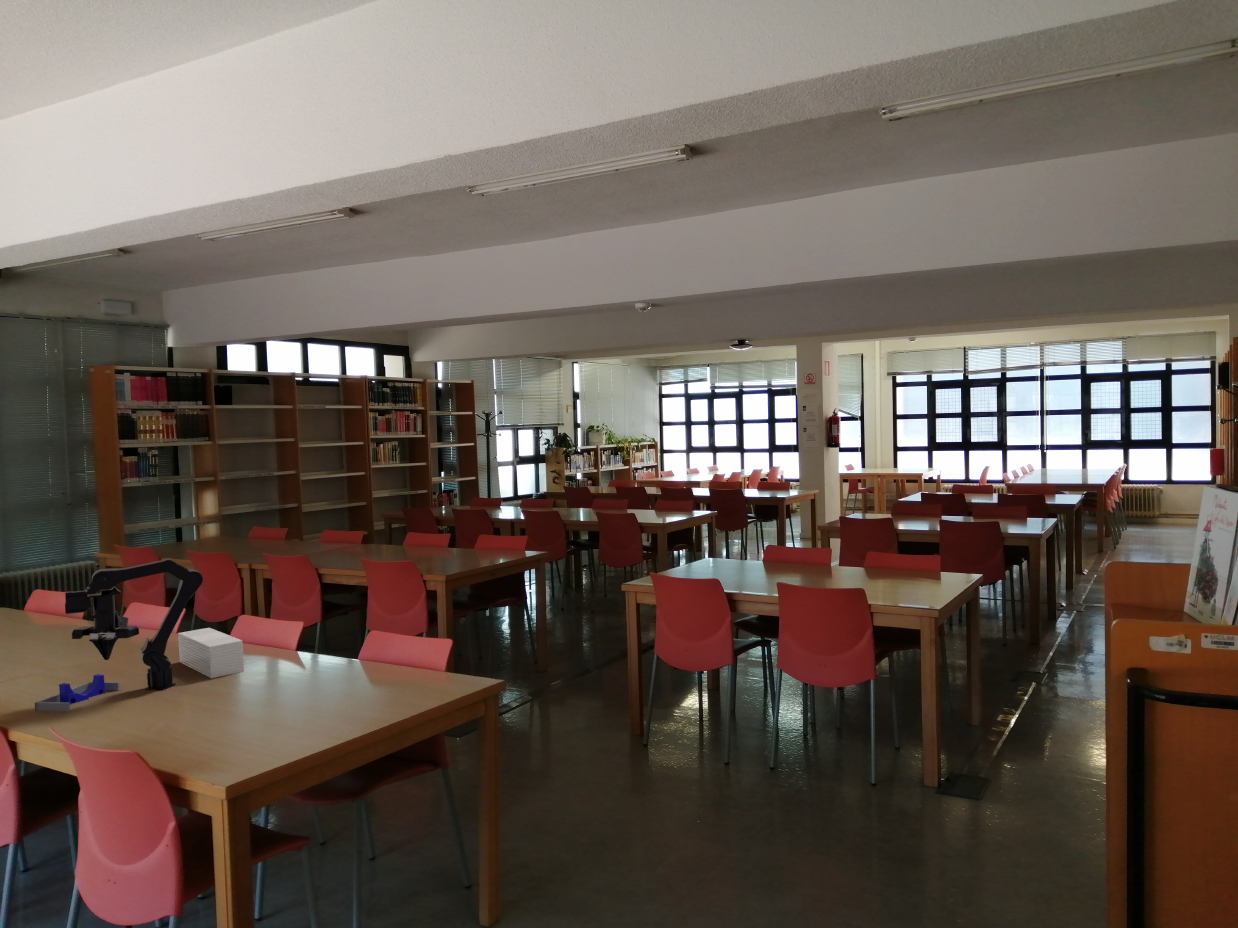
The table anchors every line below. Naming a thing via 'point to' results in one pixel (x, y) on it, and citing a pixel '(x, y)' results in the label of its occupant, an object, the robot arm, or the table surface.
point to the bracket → (56, 705)
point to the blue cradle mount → (93, 690)
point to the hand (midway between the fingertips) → (107, 659)
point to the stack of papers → (211, 652)
